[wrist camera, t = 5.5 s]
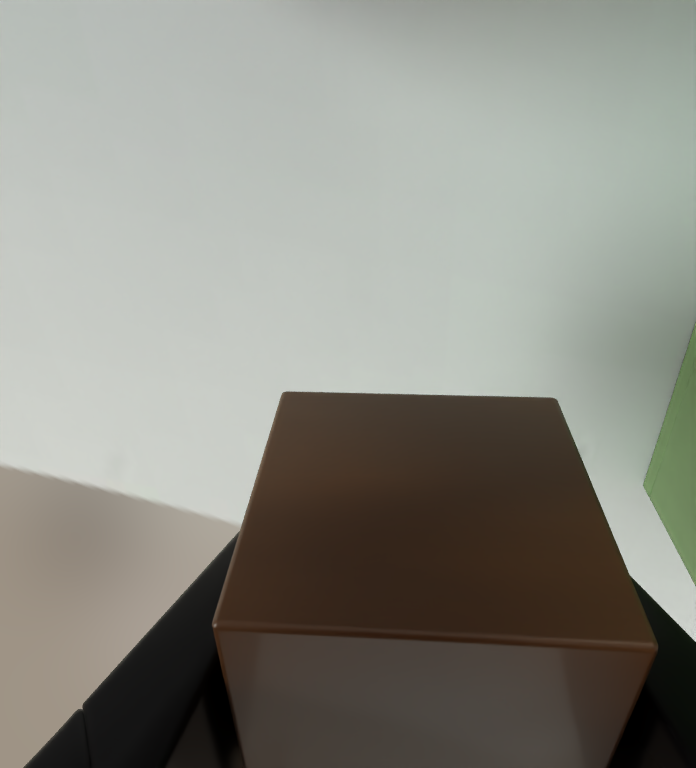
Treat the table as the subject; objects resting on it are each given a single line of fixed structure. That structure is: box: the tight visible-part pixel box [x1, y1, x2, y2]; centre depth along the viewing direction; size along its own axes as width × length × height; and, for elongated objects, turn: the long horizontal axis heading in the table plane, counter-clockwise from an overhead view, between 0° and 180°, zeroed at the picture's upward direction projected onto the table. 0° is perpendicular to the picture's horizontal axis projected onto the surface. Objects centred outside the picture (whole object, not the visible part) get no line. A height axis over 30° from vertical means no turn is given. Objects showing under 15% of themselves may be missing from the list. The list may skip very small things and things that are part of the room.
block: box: [212, 392, 658, 768], centre depth 8 cm, size 4×4×4 cm
